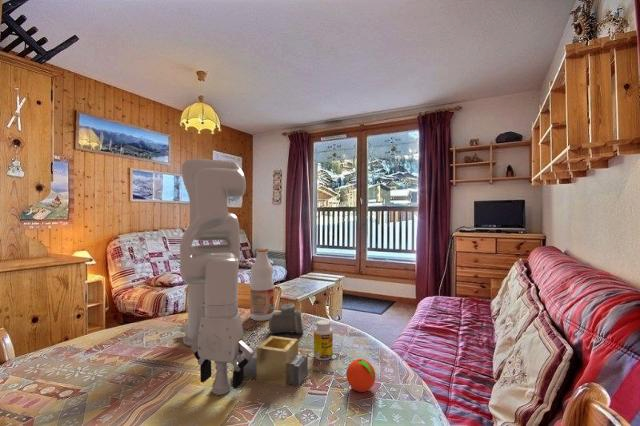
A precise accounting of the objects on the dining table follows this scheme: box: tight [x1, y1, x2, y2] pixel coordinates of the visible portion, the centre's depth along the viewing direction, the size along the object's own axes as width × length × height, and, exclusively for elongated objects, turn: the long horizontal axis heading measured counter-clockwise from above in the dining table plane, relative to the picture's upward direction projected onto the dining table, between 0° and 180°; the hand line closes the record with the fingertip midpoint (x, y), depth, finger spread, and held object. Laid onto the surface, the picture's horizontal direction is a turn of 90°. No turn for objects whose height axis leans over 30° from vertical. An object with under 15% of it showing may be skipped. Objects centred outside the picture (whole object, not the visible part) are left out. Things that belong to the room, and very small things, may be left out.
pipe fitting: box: [268, 302, 304, 335], centre depth 110 cm, size 12×8×10 cm
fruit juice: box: [249, 247, 275, 322], centre depth 127 cm, size 9×9×28 cm
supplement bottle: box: [313, 319, 334, 361], centre depth 92 cm, size 6×6×10 cm
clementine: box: [346, 358, 376, 393], centre depth 74 cm, size 8×7×7 cm
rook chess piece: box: [211, 361, 232, 396], centre depth 74 cm, size 4×4×8 cm
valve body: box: [233, 335, 309, 388], centre depth 81 cm, size 18×8×8 cm, turn 72°
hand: (221, 382), depth 74 cm, fingers open, 8 cm apart
